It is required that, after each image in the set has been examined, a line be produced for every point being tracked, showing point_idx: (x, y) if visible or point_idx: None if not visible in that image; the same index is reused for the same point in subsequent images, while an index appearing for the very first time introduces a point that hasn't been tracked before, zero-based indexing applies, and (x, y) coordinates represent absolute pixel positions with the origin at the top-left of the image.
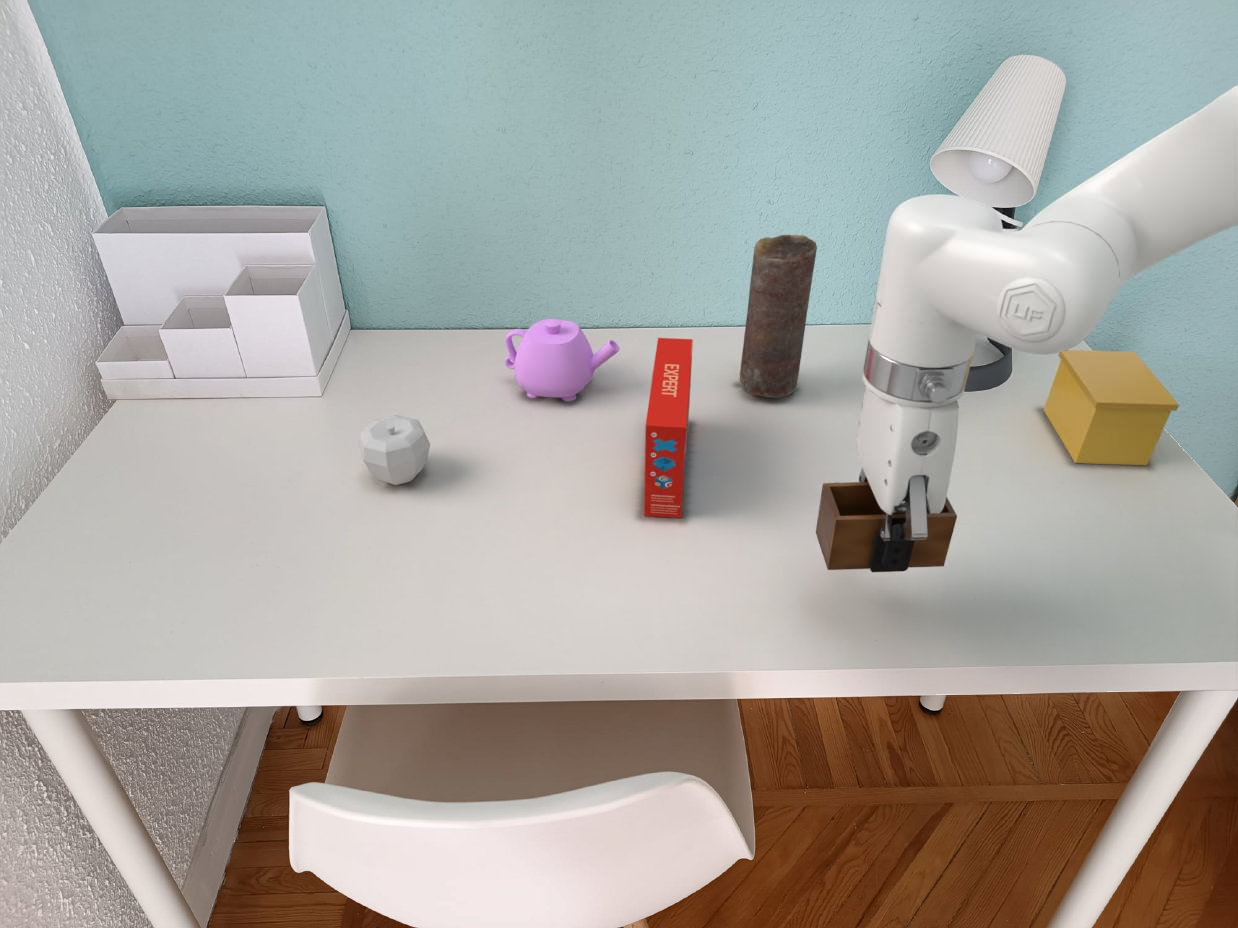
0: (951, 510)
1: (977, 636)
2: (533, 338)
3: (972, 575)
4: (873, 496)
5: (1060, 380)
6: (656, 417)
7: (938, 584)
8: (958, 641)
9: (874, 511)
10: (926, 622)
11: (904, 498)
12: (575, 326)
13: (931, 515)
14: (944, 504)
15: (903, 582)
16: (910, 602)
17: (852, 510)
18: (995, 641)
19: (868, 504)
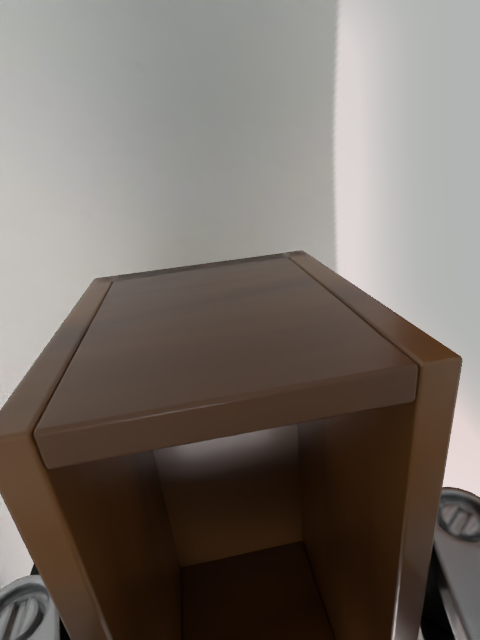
0: (395, 386)
1: (264, 98)
2: None
3: (38, 40)
4: (149, 626)
5: None
6: None
7: (98, 154)
8: (280, 150)
9: (151, 531)
10: (230, 211)
11: (119, 505)
12: None
13: (428, 500)
14: (311, 415)
15: (108, 241)
16: (173, 235)
17: (165, 594)
18: (278, 55)
19: (155, 588)
